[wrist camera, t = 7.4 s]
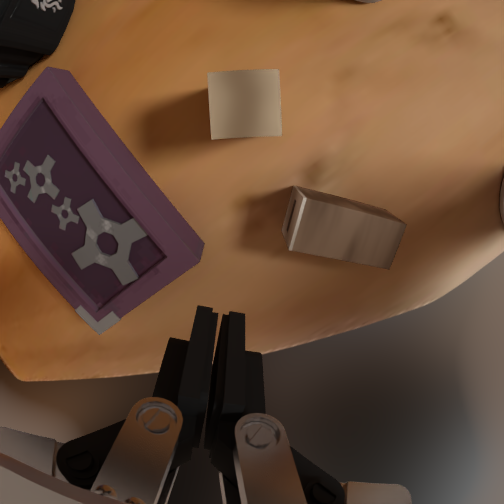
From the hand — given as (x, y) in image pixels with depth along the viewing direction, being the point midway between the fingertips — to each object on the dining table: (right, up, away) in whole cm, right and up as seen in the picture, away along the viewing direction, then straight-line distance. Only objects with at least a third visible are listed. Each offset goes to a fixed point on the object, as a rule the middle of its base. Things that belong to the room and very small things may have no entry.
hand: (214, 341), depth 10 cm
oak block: (+1, +17, +16) cm, 23 cm away
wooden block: (+5, +7, +18) cm, 20 cm away
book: (-18, +9, +19) cm, 28 cm away
